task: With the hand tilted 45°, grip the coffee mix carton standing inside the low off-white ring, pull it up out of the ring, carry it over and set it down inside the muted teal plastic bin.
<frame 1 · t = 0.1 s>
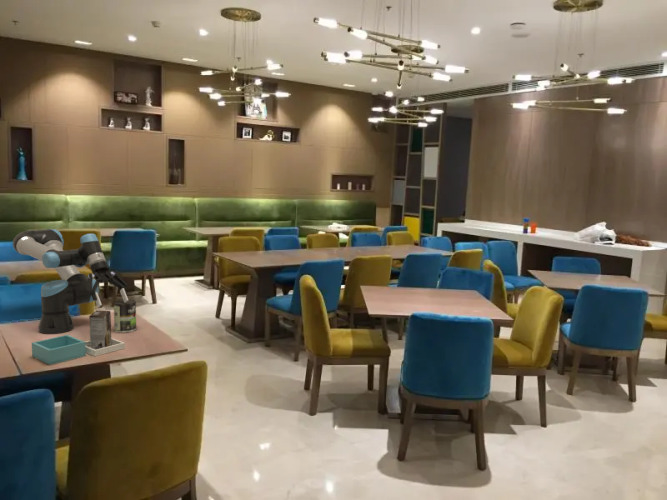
hand: (113, 303, 261), 15 cm above the table, tool tilted 35°, fingers open, 13 cm apart
bin: (59, 356, 234), on the table
coffee can: (125, 330, 273), on the table
collar: (101, 348, 244), on the table
coffee box: (101, 349, 244), resting in collar
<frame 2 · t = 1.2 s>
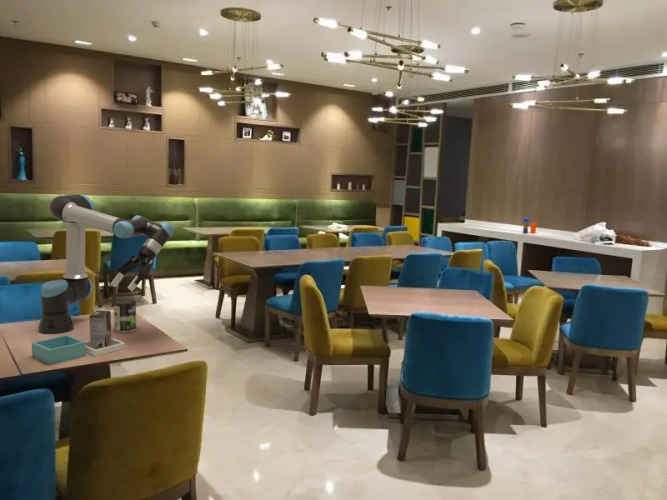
hand: (121, 287, 248), 26 cm above the table, tool tilted 45°, fingers open, 13 cm apart
nothing on the table moved.
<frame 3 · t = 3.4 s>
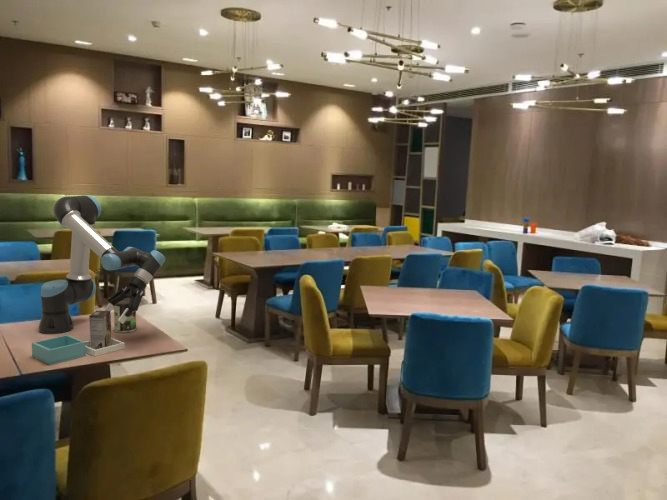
hand: (111, 319, 245), 13 cm above the table, tool tilted 45°, fingers open, 13 cm apart
nothing on the table moved.
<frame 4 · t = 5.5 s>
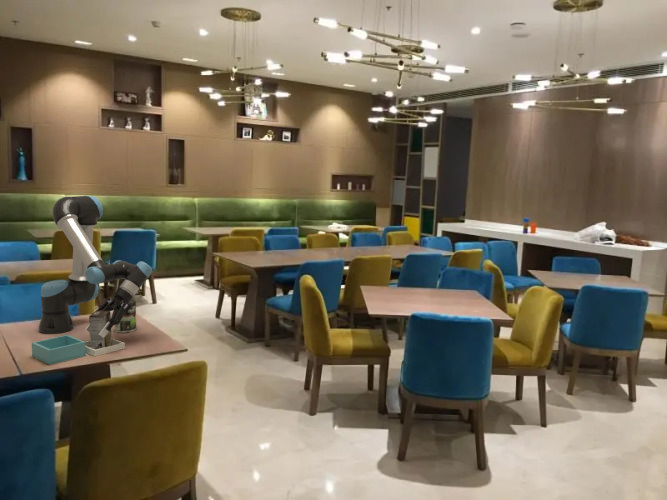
hand: (94, 333, 241), 8 cm above the table, tool tilted 45°, fingers closed on coffee box, 10 cm apart
coffee box: (101, 349, 244), resting in collar, touching gripper
everything else where it was.
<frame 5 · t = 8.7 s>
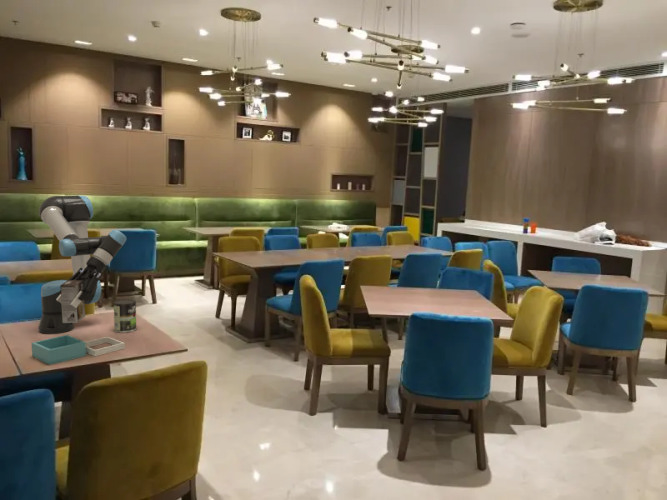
hand: (66, 303, 231), 22 cm above the table, tool tilted 45°, fingers closed on coffee box, 10 cm apart
coffee box: (74, 320, 234), point 15 cm above the table, touching gripper
everything else where it was.
when the fingers open (10 cm above the table, at t = 12.1 s): coffee box drops 1 cm, resting on bin.
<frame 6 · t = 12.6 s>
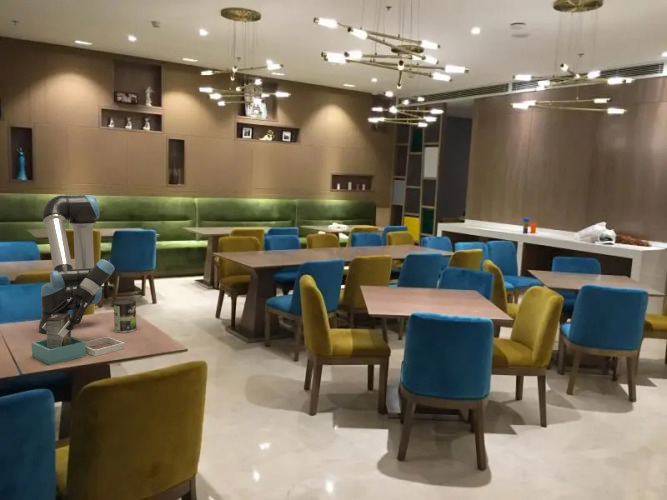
hand: (52, 332, 230), 11 cm above the table, tool tilted 45°, fingers open, 13 cm apart
coffee box: (59, 354, 233), point 1 cm above the table, touching bin
everything else where it was.
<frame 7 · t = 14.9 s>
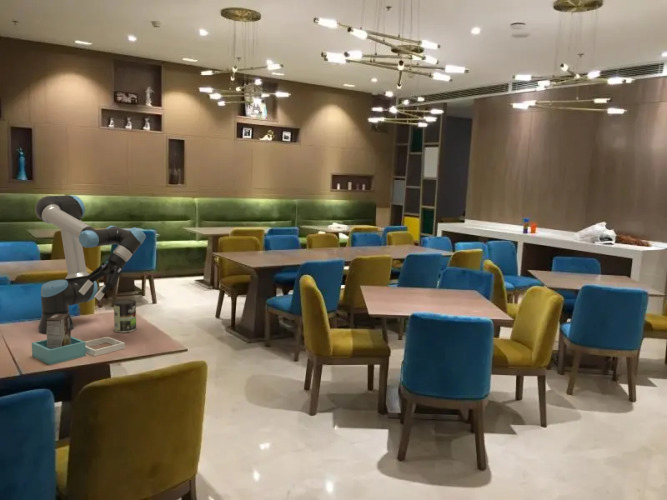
hand: (88, 296, 243), 23 cm above the table, tool tilted 45°, fingers open, 13 cm apart
nothing on the table moved.
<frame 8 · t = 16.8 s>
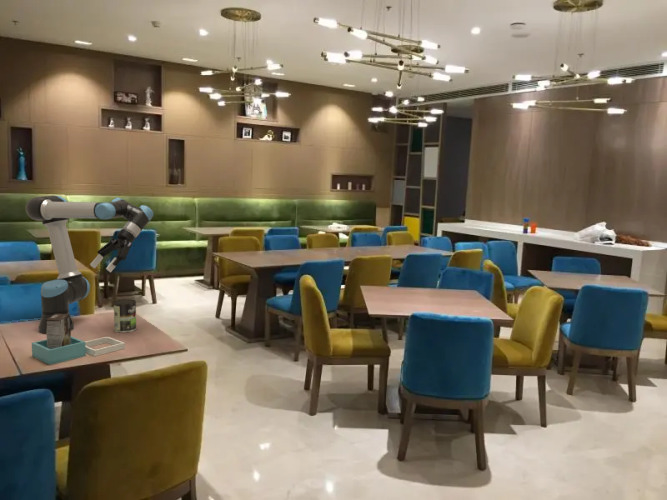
hand: (100, 268, 255), 33 cm above the table, tool tilted 45°, fingers open, 13 cm apart
nothing on the table moved.
at the end: coffee box inside the target area on the bin (0.3 cm from its centre), point 0.8 cm above the bin's base; the gripper is holding nothing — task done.
